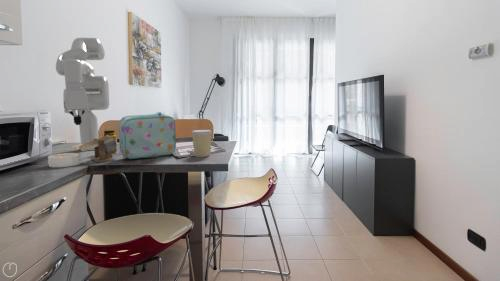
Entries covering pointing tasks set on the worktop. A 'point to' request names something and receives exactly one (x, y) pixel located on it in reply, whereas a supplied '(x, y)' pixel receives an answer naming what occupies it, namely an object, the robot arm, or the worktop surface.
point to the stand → (101, 153)
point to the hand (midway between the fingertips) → (78, 124)
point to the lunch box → (147, 135)
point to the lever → (107, 141)
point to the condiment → (112, 133)
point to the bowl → (64, 160)
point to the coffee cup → (202, 142)
